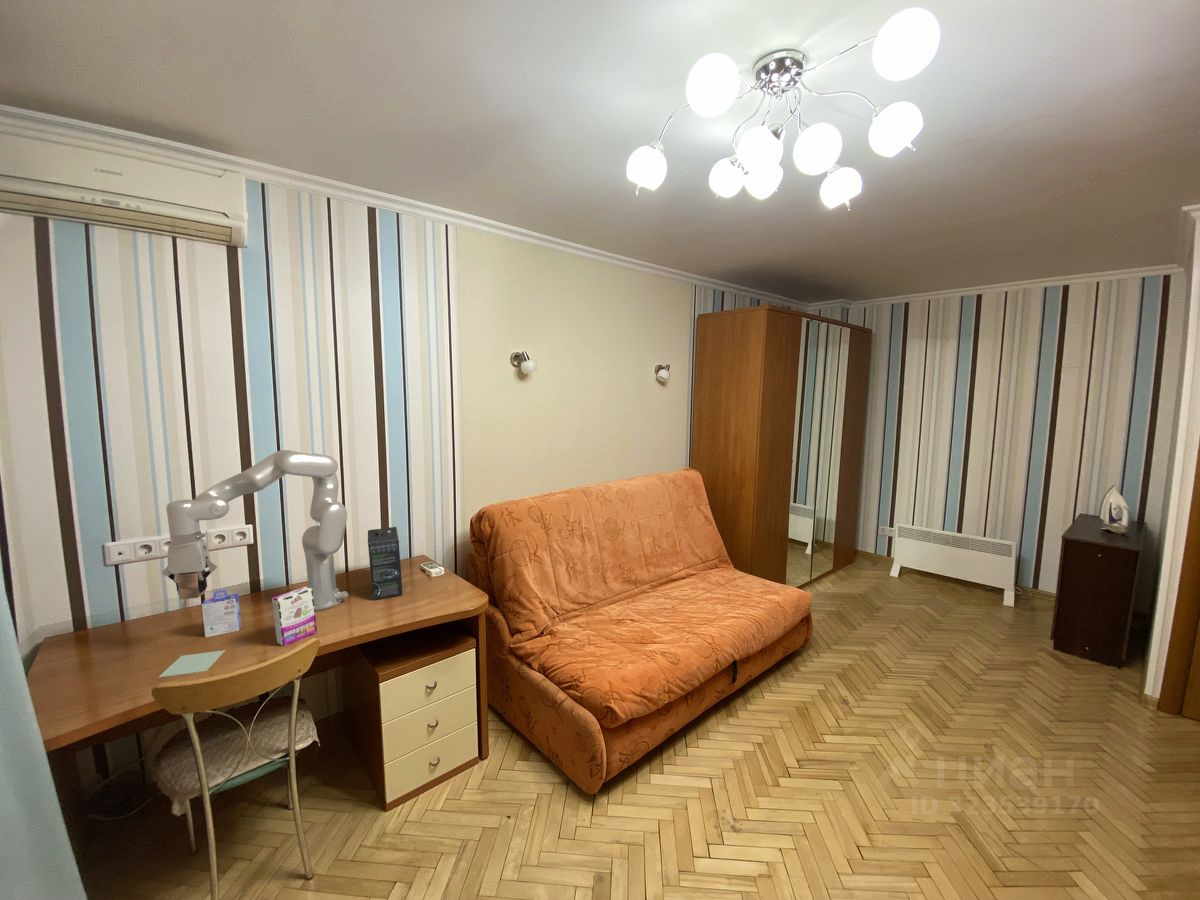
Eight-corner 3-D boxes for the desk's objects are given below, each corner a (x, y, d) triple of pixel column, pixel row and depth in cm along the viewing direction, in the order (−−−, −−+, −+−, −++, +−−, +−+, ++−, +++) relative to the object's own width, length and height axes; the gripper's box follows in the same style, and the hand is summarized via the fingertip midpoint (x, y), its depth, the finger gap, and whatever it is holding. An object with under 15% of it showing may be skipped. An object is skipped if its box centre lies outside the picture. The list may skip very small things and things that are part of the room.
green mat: (225, 651, 159) (225, 650, 159) (206, 671, 147) (205, 670, 147) (181, 656, 156) (181, 655, 155) (158, 678, 144) (158, 677, 144)
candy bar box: (310, 629, 173) (306, 585, 171) (317, 633, 170) (313, 588, 168) (275, 643, 163) (271, 597, 161) (283, 647, 161) (278, 600, 158)
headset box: (371, 581, 216) (367, 525, 212) (400, 577, 221) (397, 521, 217) (371, 601, 195) (366, 539, 192) (403, 595, 200) (399, 535, 197)
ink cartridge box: (242, 624, 177) (238, 586, 175) (240, 630, 172) (235, 591, 170) (207, 631, 172) (203, 592, 170) (204, 638, 167) (200, 598, 166)
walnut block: (205, 591, 163) (203, 568, 162) (197, 597, 158) (194, 574, 157) (188, 593, 161) (185, 570, 160) (179, 599, 157) (176, 575, 156)
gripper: (222, 532, 163) (228, 584, 165) (161, 537, 159) (168, 590, 161) (210, 539, 156) (217, 593, 158) (146, 544, 151) (154, 599, 154)
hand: (192, 591), depth 159 cm, fingers closed on walnut block, 5 cm apart
